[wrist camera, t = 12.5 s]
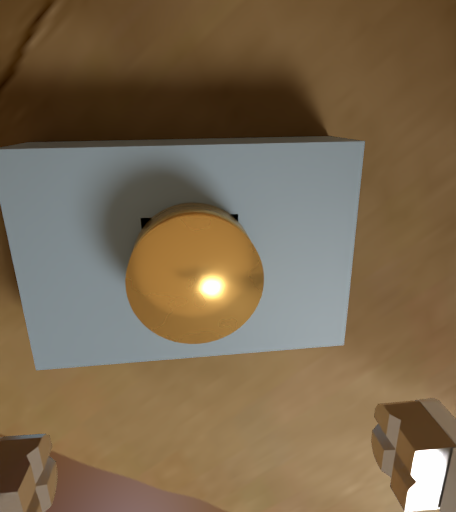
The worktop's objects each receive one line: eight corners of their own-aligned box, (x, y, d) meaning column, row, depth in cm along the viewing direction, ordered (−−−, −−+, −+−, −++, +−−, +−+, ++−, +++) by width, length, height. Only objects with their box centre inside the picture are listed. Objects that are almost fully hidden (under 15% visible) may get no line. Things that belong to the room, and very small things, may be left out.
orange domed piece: (239, 184, 25) (265, 213, 17) (239, 278, 27) (262, 338, 20) (135, 188, 24) (117, 220, 17) (144, 284, 26) (132, 348, 19)
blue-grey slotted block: (27, 142, 23) (-12, 149, 18) (329, 136, 25) (364, 141, 20) (60, 325, 27) (36, 370, 22) (316, 307, 29) (343, 345, 24)
